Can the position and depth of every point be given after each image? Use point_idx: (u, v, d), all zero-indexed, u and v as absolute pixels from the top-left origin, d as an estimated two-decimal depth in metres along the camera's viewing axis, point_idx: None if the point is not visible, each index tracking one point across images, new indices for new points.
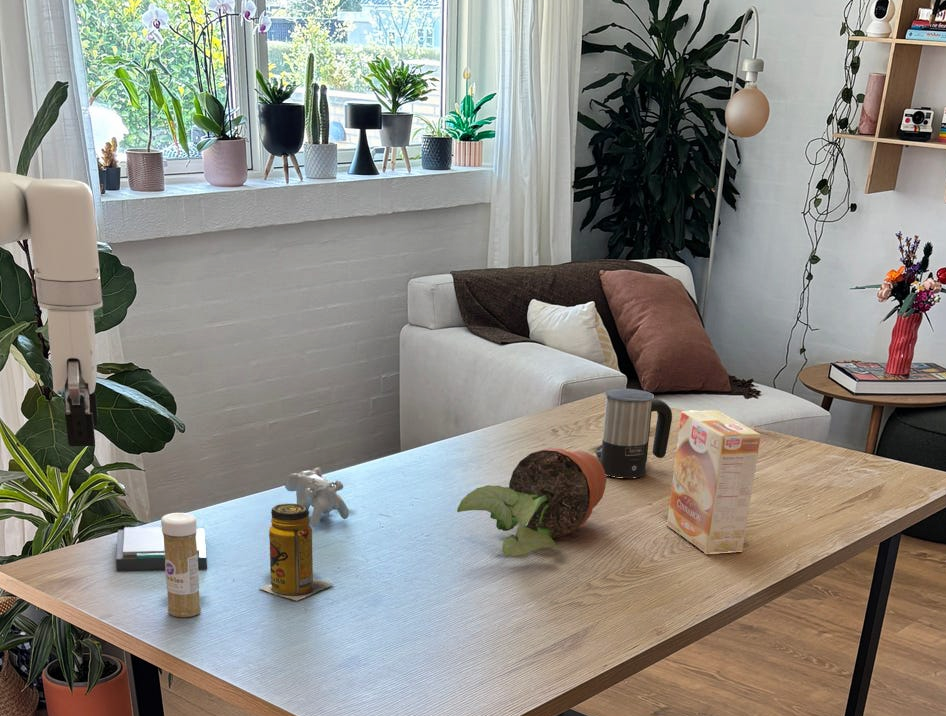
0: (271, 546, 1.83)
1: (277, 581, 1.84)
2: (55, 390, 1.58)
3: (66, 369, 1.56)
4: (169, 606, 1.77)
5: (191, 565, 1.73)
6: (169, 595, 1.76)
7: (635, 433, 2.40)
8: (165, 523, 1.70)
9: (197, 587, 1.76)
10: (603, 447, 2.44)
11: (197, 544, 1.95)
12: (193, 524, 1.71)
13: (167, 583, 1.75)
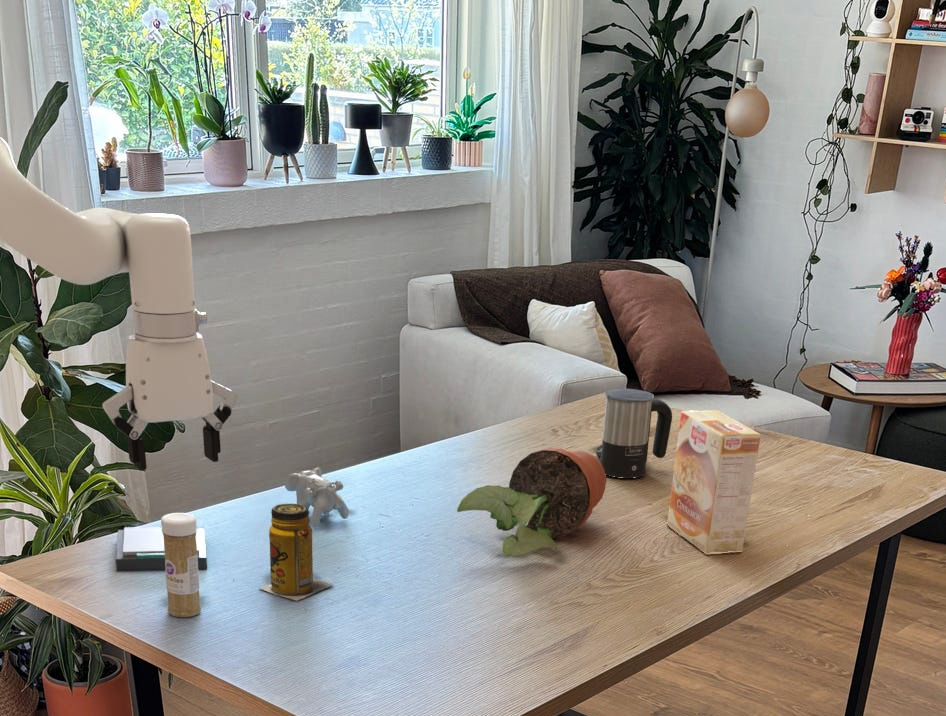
0: (271, 546, 1.83)
1: (277, 581, 1.84)
2: None
3: None
4: (169, 606, 1.77)
5: (191, 565, 1.73)
6: (169, 595, 1.76)
7: (635, 433, 2.40)
8: (165, 523, 1.70)
9: (197, 587, 1.76)
10: (603, 447, 2.44)
11: (197, 544, 1.95)
12: (192, 524, 1.71)
13: (167, 583, 1.75)
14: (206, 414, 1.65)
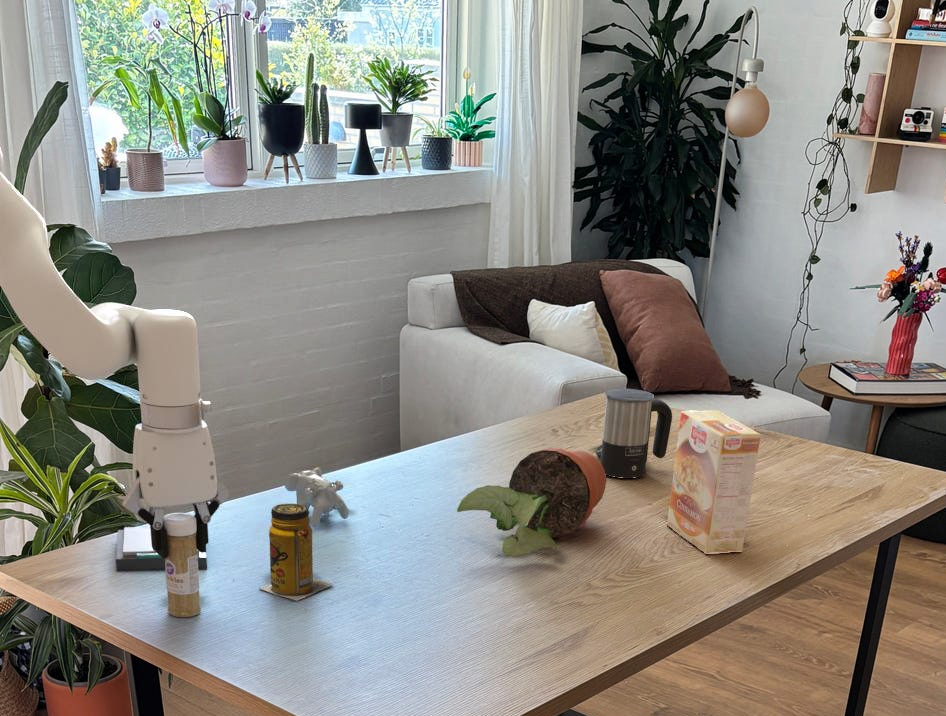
0: (271, 546, 1.83)
1: (277, 581, 1.84)
2: None
3: (135, 478, 1.67)
4: (169, 606, 1.77)
5: (191, 565, 1.73)
6: (169, 595, 1.76)
7: (635, 433, 2.40)
8: (165, 523, 1.70)
9: (197, 587, 1.76)
10: (603, 447, 2.44)
11: None
12: (193, 524, 1.71)
13: (167, 583, 1.75)
14: (210, 498, 1.71)
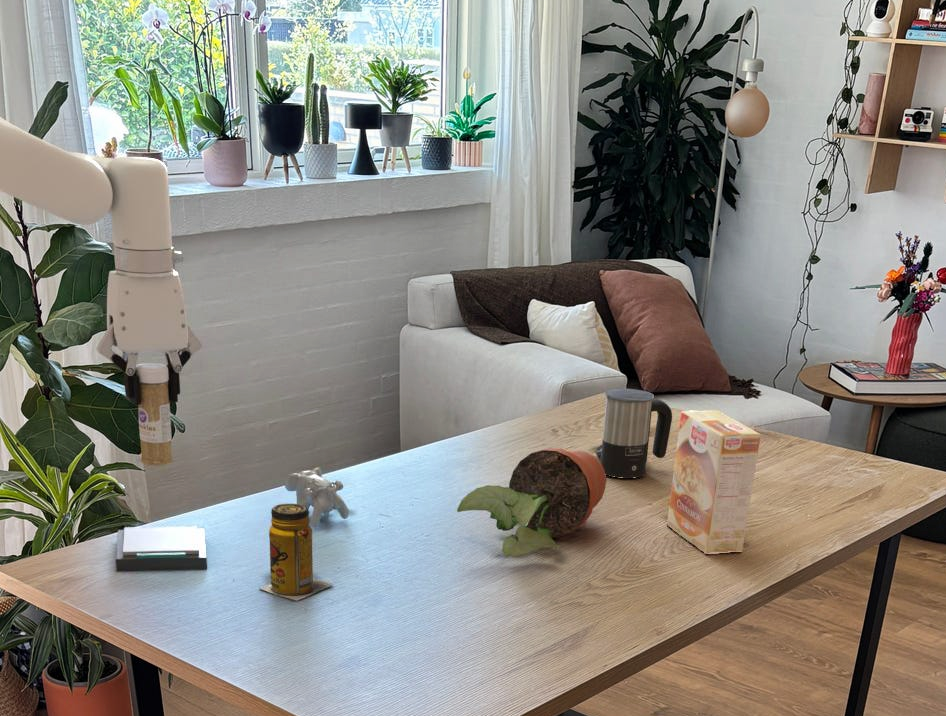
0: (271, 546, 1.83)
1: (277, 581, 1.84)
2: None
3: (109, 324, 1.74)
4: (142, 455, 1.84)
5: (163, 414, 1.81)
6: (142, 444, 1.83)
7: (635, 433, 2.40)
8: (138, 370, 1.77)
9: (169, 437, 1.83)
10: (603, 447, 2.44)
11: (197, 544, 1.95)
12: (164, 372, 1.78)
13: (140, 431, 1.82)
14: (181, 347, 1.78)
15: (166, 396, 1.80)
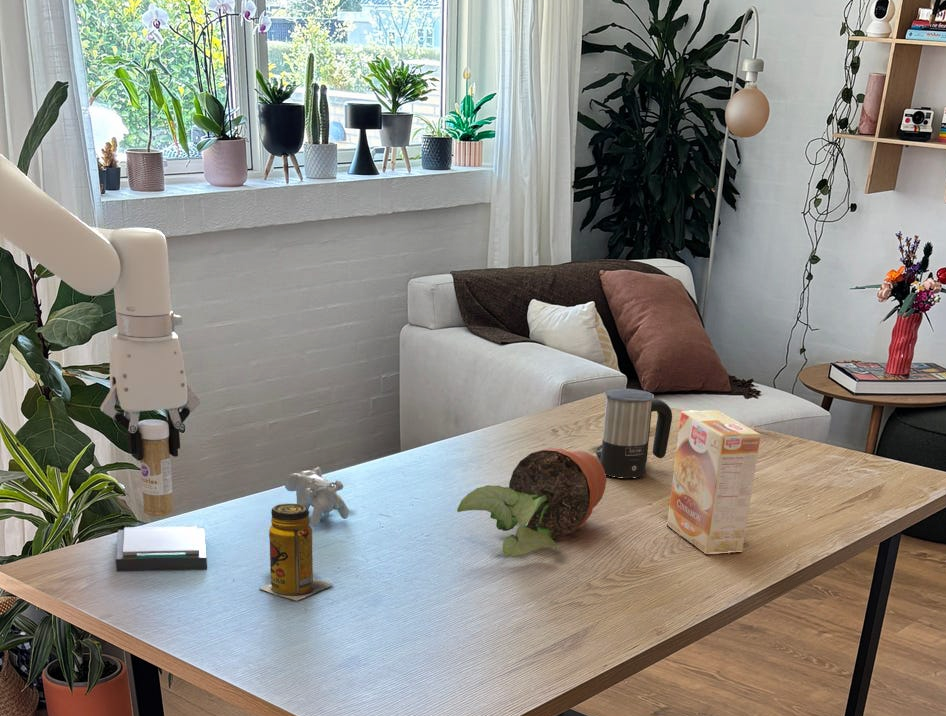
0: (271, 546, 1.83)
1: (277, 581, 1.84)
2: None
3: (112, 385, 1.83)
4: (144, 507, 1.92)
5: (164, 468, 1.89)
6: (144, 496, 1.91)
7: (635, 433, 2.40)
8: (140, 427, 1.86)
9: (170, 489, 1.92)
10: (603, 447, 2.44)
11: (197, 544, 1.95)
12: (165, 428, 1.87)
13: (142, 484, 1.91)
14: (181, 405, 1.86)
15: (167, 451, 1.89)
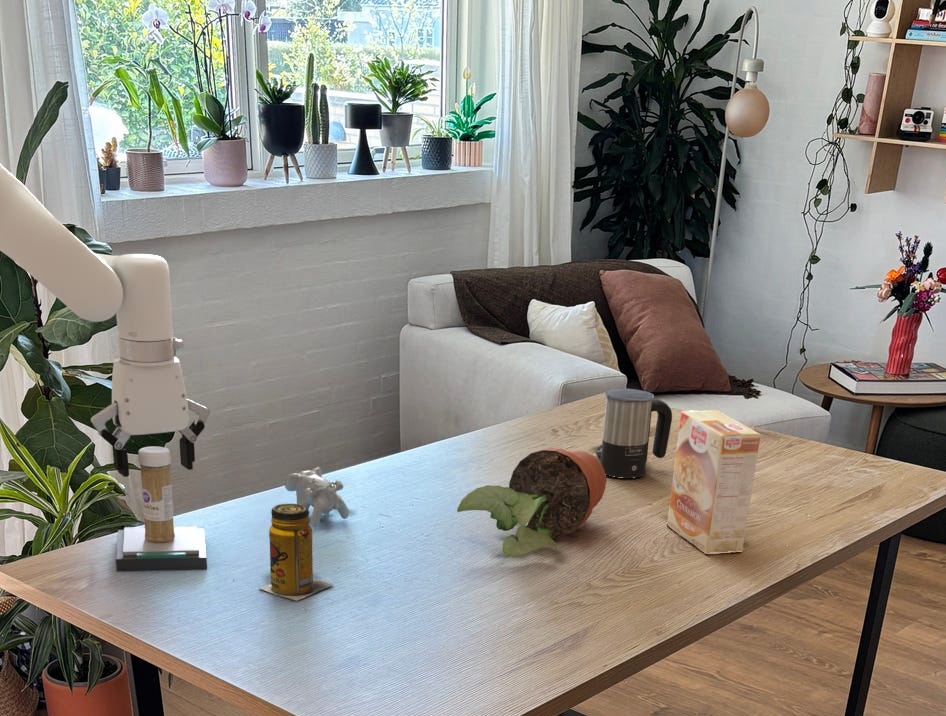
0: (271, 546, 1.83)
1: (277, 581, 1.84)
2: None
3: None
4: (146, 532, 1.94)
5: (166, 494, 1.91)
6: (146, 522, 1.93)
7: (635, 433, 2.40)
8: (141, 455, 1.88)
9: (171, 515, 1.94)
10: (603, 447, 2.44)
11: (197, 544, 1.95)
12: (167, 455, 1.89)
13: (144, 510, 1.93)
14: (182, 428, 1.88)
15: (168, 478, 1.91)
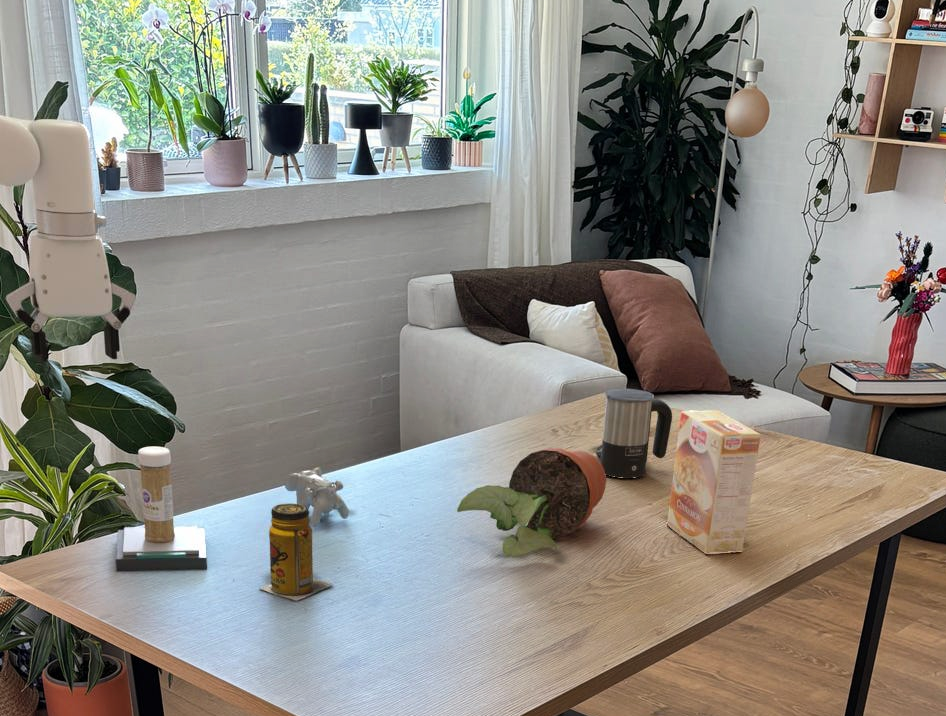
0: (271, 546, 1.83)
1: (277, 581, 1.84)
2: None
3: None
4: (146, 532, 1.94)
5: (166, 494, 1.91)
6: (146, 522, 1.93)
7: (635, 433, 2.40)
8: (141, 455, 1.88)
9: (171, 515, 1.94)
10: (603, 447, 2.44)
11: (197, 544, 1.95)
12: (167, 455, 1.89)
13: (144, 510, 1.93)
14: (105, 312, 1.78)
15: (168, 478, 1.91)
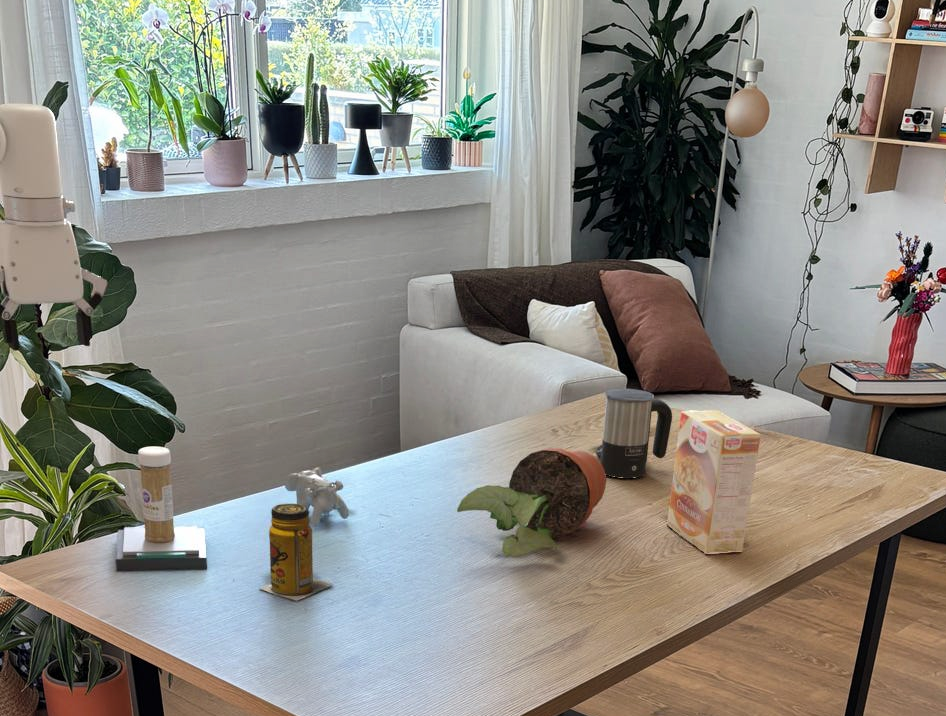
0: (271, 546, 1.83)
1: (277, 581, 1.84)
2: None
3: None
4: (146, 532, 1.94)
5: (166, 494, 1.91)
6: (146, 522, 1.93)
7: (635, 433, 2.40)
8: (141, 455, 1.88)
9: (171, 515, 1.94)
10: (603, 447, 2.44)
11: (197, 544, 1.95)
12: (167, 455, 1.89)
13: (144, 510, 1.93)
14: (76, 299, 1.76)
15: (168, 478, 1.91)
